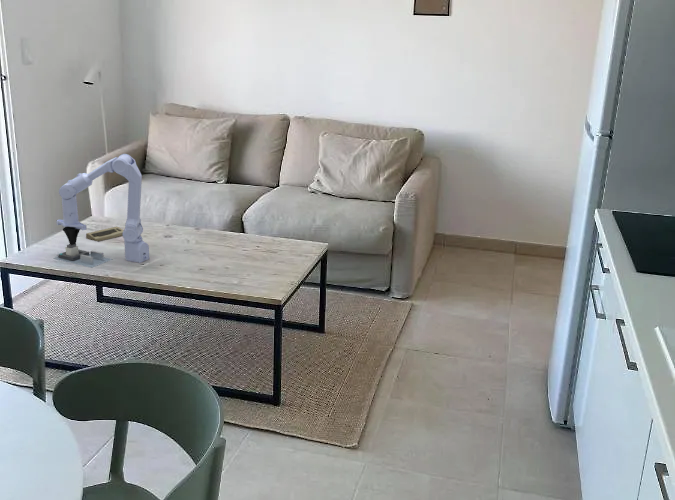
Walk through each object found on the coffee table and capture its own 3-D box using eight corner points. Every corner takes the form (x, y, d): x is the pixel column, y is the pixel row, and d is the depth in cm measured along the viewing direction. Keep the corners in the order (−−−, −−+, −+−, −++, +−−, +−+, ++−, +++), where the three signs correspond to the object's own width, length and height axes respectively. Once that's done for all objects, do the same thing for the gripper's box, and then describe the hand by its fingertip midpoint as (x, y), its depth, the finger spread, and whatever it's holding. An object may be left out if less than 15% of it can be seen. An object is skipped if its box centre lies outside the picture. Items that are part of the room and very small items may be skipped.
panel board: (113, 261, 299) (113, 259, 298) (91, 270, 288) (91, 267, 288) (75, 252, 307) (74, 250, 307) (53, 260, 297) (53, 258, 296)
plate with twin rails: (103, 259, 297) (103, 253, 296) (91, 264, 291) (91, 257, 290) (92, 257, 299) (92, 250, 298) (80, 262, 294) (80, 255, 293)
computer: (95, 243, 321) (95, 236, 320) (86, 239, 326) (85, 232, 325) (126, 236, 332) (126, 229, 331) (116, 232, 337) (116, 225, 336)
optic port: (89, 255, 302) (88, 251, 301) (73, 261, 294) (72, 257, 293) (74, 251, 305) (74, 247, 304) (58, 257, 297) (58, 253, 297)
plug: (78, 256, 300) (77, 243, 298) (71, 259, 296) (70, 246, 295) (73, 255, 301) (72, 242, 299) (66, 257, 298) (65, 245, 296)
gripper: (49, 211, 293) (52, 243, 297) (76, 217, 287) (78, 249, 291) (62, 207, 299) (65, 239, 303) (89, 213, 293) (91, 244, 297)
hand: (72, 243), depth 298 cm, fingers closed
